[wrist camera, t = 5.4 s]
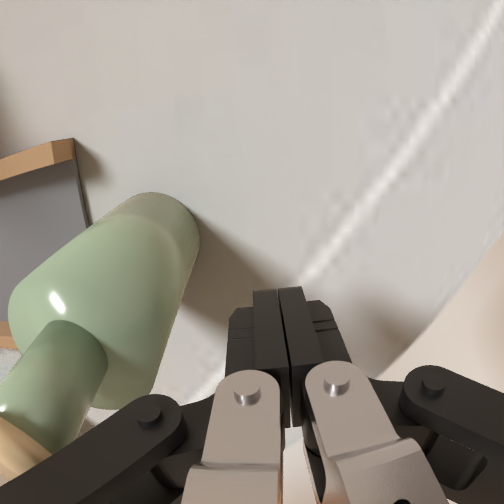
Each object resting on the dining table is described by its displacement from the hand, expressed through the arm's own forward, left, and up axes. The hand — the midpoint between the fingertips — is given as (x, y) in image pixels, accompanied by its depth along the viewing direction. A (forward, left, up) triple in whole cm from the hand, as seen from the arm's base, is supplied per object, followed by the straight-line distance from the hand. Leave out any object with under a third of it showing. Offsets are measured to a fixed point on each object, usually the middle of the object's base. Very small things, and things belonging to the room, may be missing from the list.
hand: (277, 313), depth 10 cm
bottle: (+6, 0, -8) cm, 10 cm away
